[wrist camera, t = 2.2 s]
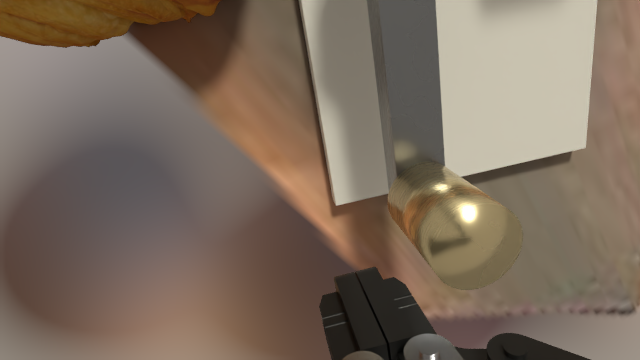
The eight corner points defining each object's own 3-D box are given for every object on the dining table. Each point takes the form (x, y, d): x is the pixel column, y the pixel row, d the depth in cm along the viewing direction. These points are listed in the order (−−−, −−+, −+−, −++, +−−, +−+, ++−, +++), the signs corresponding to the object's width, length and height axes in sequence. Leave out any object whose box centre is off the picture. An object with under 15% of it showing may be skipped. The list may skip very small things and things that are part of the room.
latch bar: (327, -163, 15) (382, -287, 9) (426, -176, 16) (541, -304, 10) (377, 224, 22) (430, 301, 16) (448, 207, 22) (526, 275, 16)
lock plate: (267, -179, 19) (280, -288, 12) (634, -227, 21) (811, -343, 14) (332, 199, 26) (362, 255, 20) (600, 137, 28) (707, 170, 22)
